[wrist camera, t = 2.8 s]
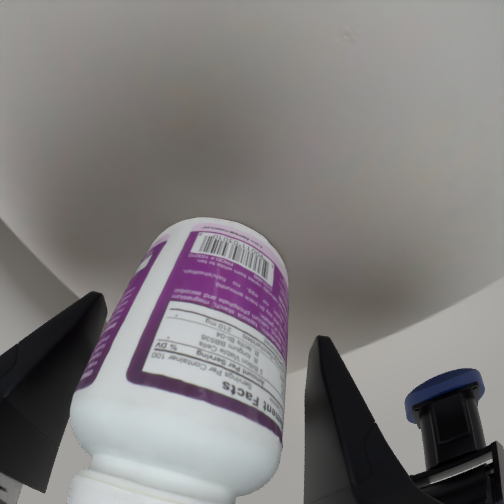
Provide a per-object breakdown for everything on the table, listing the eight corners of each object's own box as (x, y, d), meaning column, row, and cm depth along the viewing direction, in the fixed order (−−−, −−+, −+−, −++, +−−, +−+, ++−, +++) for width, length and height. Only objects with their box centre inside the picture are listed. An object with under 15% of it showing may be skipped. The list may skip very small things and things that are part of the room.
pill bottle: (196, 330, 14) (141, 537, 6) (125, 240, 11) (-2, 480, 4) (310, 303, 12) (303, 565, 5) (252, 187, 10) (162, 576, 2)
